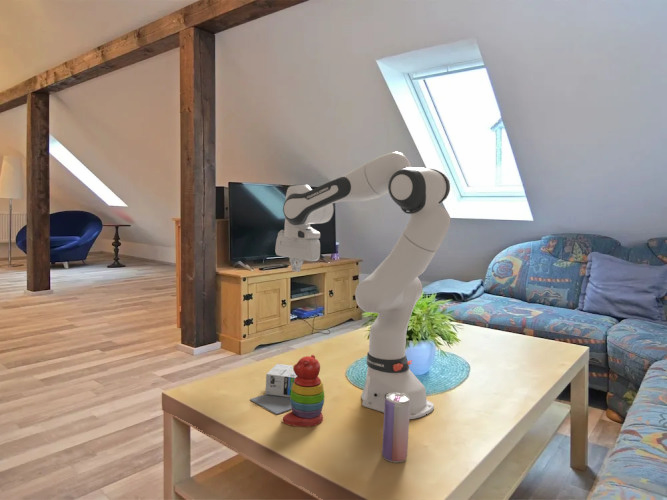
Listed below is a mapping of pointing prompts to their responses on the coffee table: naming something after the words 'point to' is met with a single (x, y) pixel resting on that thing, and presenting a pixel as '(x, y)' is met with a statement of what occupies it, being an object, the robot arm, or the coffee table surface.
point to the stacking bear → (306, 394)
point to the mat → (273, 403)
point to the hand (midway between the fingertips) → (296, 271)
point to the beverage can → (396, 427)
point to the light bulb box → (280, 380)
